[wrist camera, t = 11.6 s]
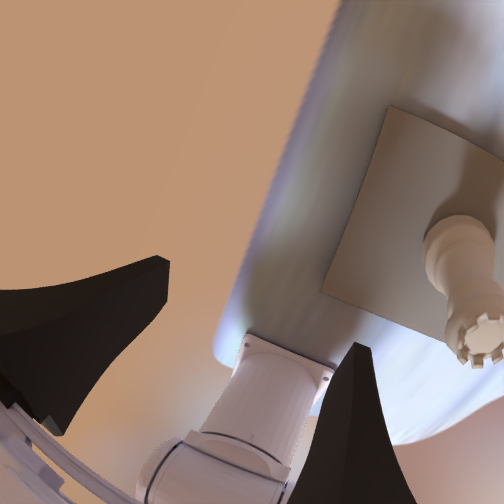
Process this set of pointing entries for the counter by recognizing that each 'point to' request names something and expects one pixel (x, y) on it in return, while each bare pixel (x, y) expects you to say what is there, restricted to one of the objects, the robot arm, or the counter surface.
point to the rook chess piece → (467, 287)
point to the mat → (413, 220)
